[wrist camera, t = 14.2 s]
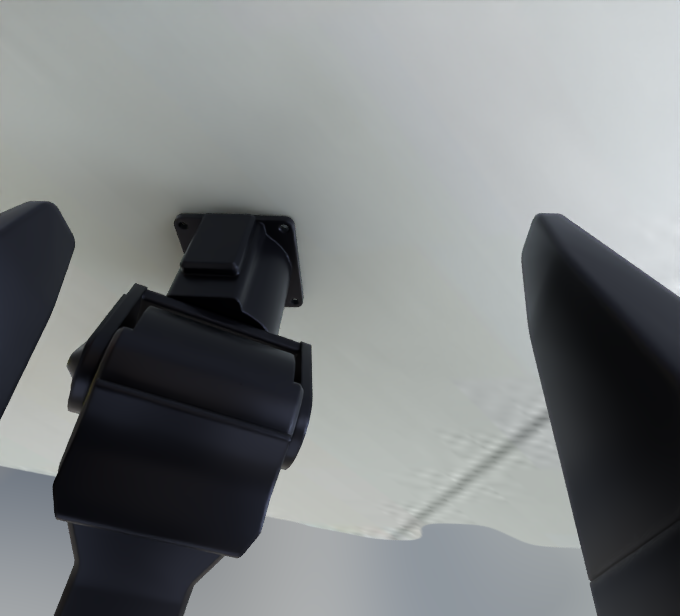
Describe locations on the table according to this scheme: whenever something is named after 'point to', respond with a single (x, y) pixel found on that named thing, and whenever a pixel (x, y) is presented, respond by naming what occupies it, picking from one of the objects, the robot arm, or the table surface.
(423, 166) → the table surface
